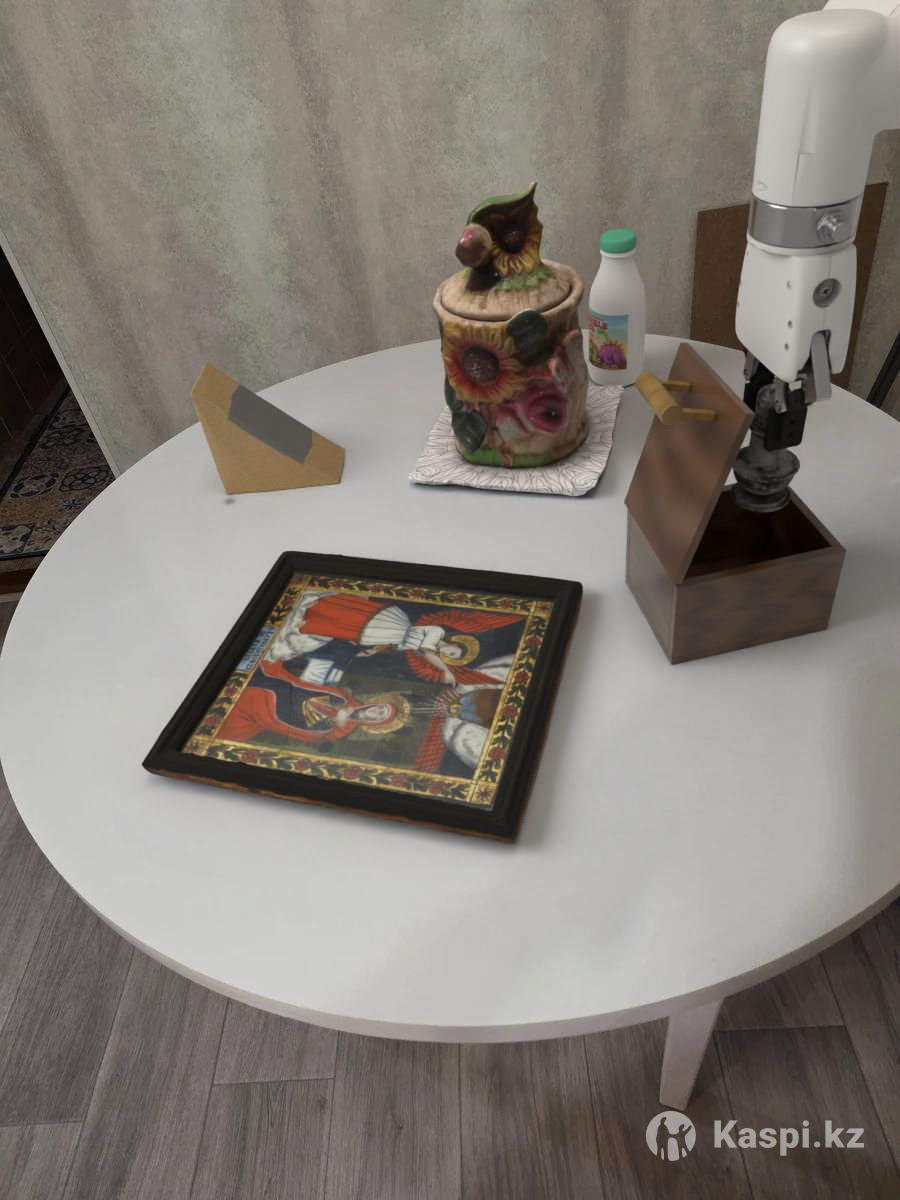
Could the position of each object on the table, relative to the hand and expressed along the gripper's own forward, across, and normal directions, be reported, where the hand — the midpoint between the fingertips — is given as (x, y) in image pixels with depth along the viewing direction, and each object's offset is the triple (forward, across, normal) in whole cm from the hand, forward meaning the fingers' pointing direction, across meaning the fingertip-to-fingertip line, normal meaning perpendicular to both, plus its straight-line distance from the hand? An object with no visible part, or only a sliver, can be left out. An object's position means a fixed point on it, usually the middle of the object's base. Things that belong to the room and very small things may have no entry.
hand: (770, 432), depth 75 cm
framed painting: (+20, 0, +38) cm, 43 cm away
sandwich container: (+20, +42, +45) cm, 64 cm away
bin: (+20, 0, +2) cm, 20 cm away
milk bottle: (+20, +49, -4) cm, 53 cm away
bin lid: (+1, 0, +8) cm, 8 cm away
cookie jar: (+20, +37, +14) cm, 44 cm away
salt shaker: (+7, 0, 0) cm, 7 cm away
